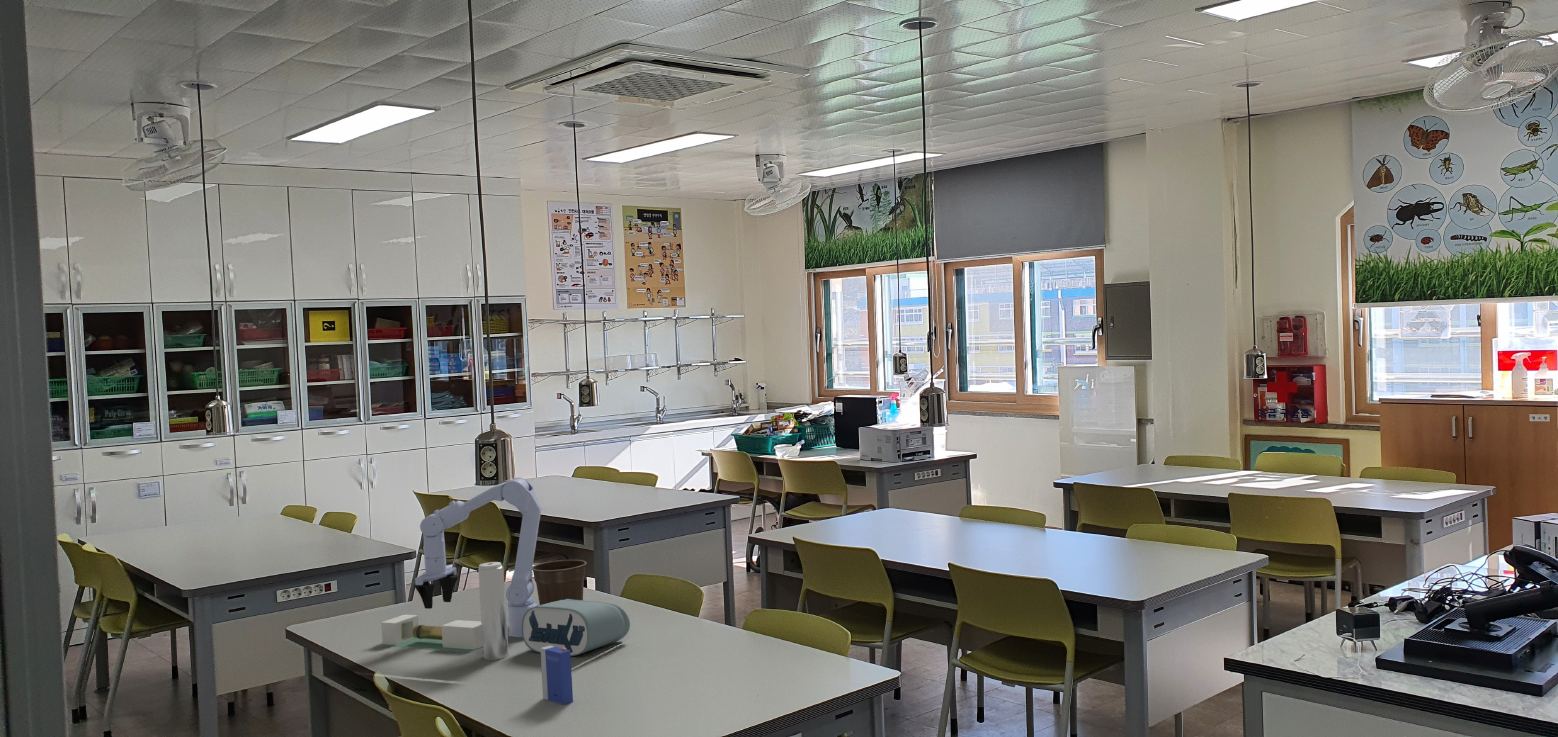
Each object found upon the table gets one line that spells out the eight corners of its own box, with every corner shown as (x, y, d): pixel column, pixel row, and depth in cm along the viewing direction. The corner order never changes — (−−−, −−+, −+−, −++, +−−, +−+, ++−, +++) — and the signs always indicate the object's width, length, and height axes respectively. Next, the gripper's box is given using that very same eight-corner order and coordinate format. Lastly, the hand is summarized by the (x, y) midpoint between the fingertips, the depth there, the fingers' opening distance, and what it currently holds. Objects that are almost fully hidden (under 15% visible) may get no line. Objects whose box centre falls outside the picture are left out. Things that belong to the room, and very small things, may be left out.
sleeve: (489, 643, 300) (488, 621, 300) (474, 649, 295) (473, 627, 294) (458, 640, 305) (456, 619, 305) (442, 646, 299) (441, 625, 299)
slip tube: (482, 640, 300) (481, 627, 300) (473, 644, 296) (472, 630, 296) (422, 636, 308) (421, 622, 308) (412, 639, 305) (412, 626, 305)
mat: (496, 642, 303) (496, 640, 303) (468, 654, 292) (468, 652, 292) (406, 635, 316) (406, 633, 316) (376, 647, 305) (375, 645, 305)
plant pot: (529, 616, 332) (526, 563, 331) (581, 608, 338) (578, 556, 338) (541, 627, 317) (537, 572, 317) (595, 619, 324) (592, 565, 323)
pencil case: (521, 653, 290) (520, 604, 290) (567, 638, 307) (566, 592, 307) (588, 660, 280) (587, 610, 280) (632, 644, 296) (631, 596, 297)
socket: (419, 636, 312) (418, 615, 312) (396, 644, 304) (395, 623, 304) (405, 635, 314) (404, 614, 314) (382, 643, 306) (381, 622, 306)
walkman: (573, 701, 248) (570, 648, 247) (563, 704, 246) (560, 651, 245) (552, 695, 253) (549, 643, 253) (542, 698, 251) (539, 646, 251)
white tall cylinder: (502, 661, 283) (496, 565, 283) (478, 661, 284) (473, 565, 284) (513, 654, 289) (507, 560, 289) (490, 654, 291) (484, 560, 290)
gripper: (441, 551, 317) (444, 598, 317) (405, 561, 304) (408, 610, 304) (461, 552, 314) (463, 599, 314) (425, 562, 301) (428, 611, 301)
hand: (437, 604), depth 309 cm, fingers open, 7 cm apart
